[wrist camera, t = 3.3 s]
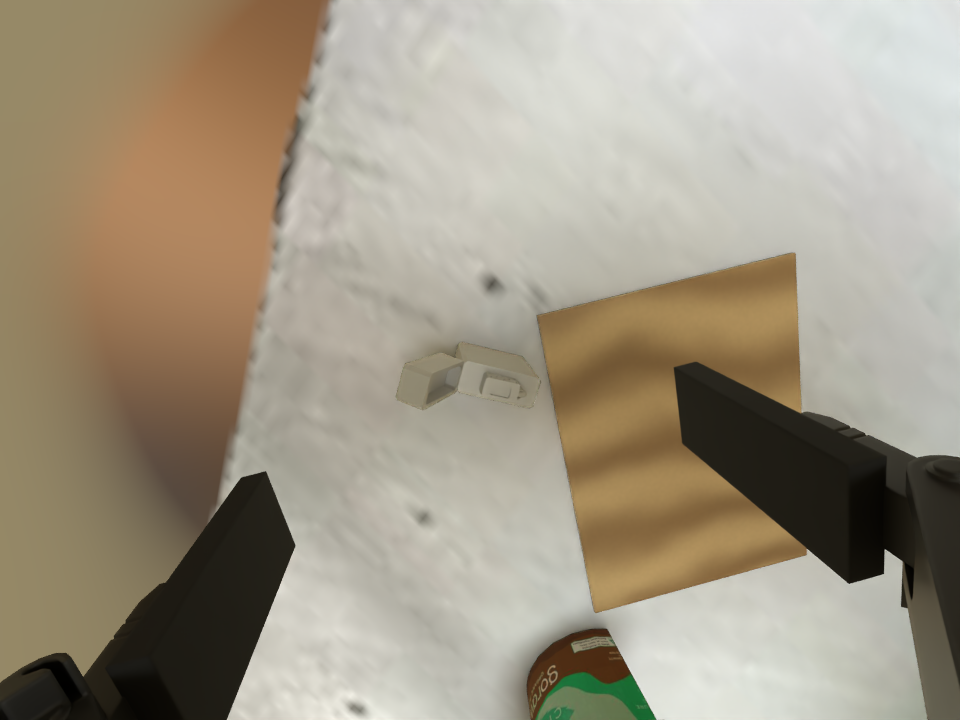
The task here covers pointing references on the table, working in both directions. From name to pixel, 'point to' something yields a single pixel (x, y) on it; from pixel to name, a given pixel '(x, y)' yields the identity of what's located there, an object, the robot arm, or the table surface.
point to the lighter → (468, 377)
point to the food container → (584, 681)
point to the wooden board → (667, 426)
